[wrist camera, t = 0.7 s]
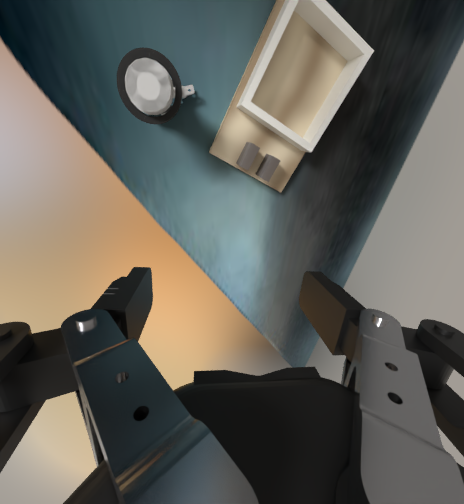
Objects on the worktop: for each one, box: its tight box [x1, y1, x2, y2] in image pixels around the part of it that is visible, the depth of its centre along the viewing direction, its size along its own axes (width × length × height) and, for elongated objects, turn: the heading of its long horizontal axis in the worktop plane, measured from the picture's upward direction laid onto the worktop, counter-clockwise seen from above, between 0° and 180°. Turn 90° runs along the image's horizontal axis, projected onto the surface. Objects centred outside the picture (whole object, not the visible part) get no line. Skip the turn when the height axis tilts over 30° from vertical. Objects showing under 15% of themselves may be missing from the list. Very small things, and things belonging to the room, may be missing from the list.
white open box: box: [237, 0, 374, 152], centre depth 26 cm, size 11×12×3 cm
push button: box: [117, 48, 194, 124], centre depth 23 cm, size 7×5×10 cm
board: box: [209, 0, 347, 192], centre depth 28 cm, size 12×18×4 cm, turn 152°
